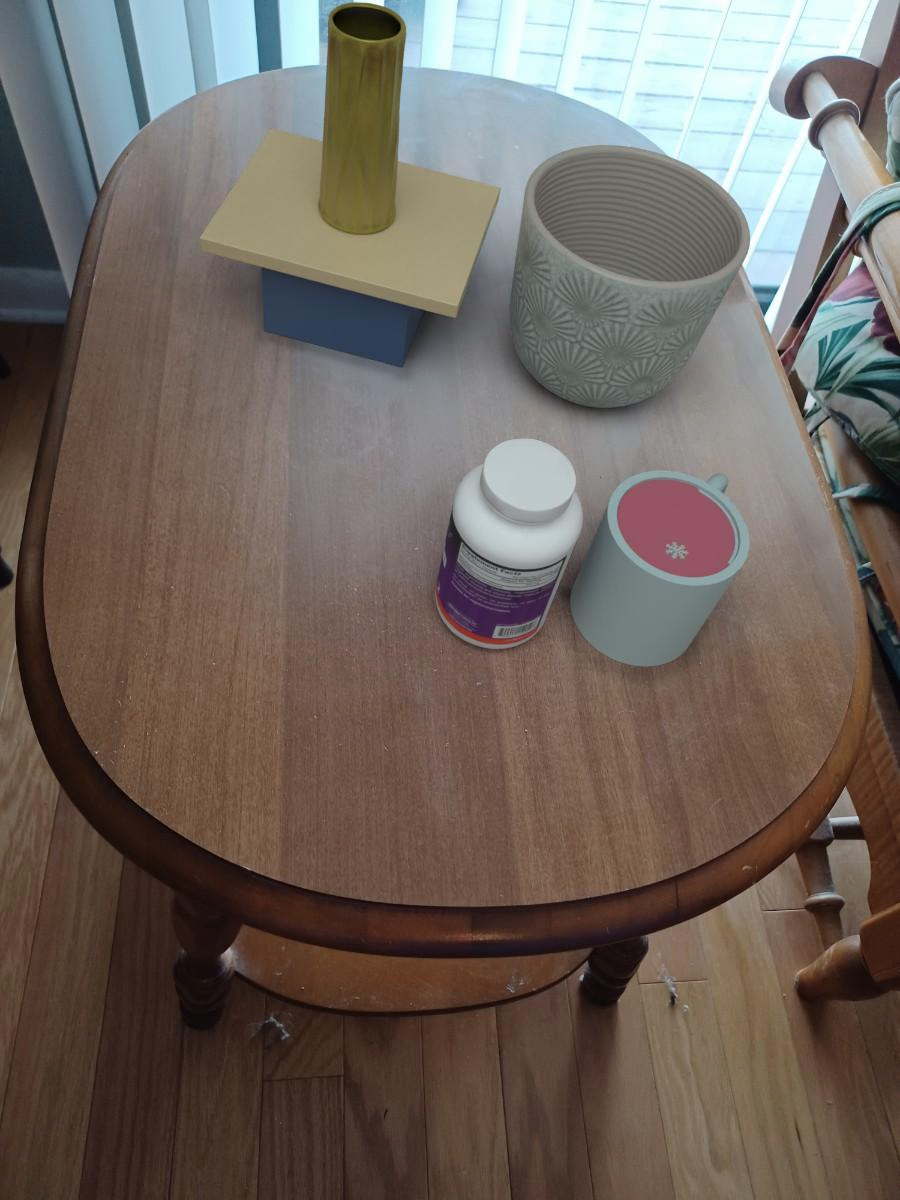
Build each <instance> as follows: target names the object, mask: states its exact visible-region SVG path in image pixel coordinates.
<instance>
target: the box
mask: <svg viewBox="0 0 900 1200" xmlns="http://www.w3.org/2000/svg"><path fill="white" fill-rule="evenodd" d="M322 148H323V140H318V139H315V138H312V137H308V136H304V135H300V134H297V133H296V134H295V133H292V132H288V131H284V130H280V129H277V128H273V127H272V128H270V129H269V130H268V131H267V133H266V135H265V137H264V138H263V140H262V141H261V143H260V144H259V146H258V147H257V149H256V150H255V152H254V154H253V155H252V156H251V158H250V160H248V163H247V164H246V166H245V167H244V169H243V171H241V174H240V175H239V176H238V178H237V180H236V181H235V183H234V184H233V186H232V187H231V189H230V190H229V192H228V193H227V195H226V196H225V198H224V200H223V201H222V203H221V204H220V206H219V207H218V208H217V210H216V212H215V213H214V215H213V216H212V218H211V220H209V223H207V226H206V227H205V229H204V230H203V232H202V233H201V235H200V236H199V247H200V252H203V253H206V254H211V255H215V256H219V257H222V258H226V259H230V260H233V261H237V262H241V263H246V264H247V265H248V264H249V265H252V266H256V267H261V288H262V291H261V292H262V314H263V315H262V316H263V331H264V332H267V333H271V334H275V335H279V336H282V337H286V338H289V339H293V340H297V341H301V342H305V343H308V344H313V345H316V346H319V347H324V348H328V349H332V350H335V351H339V352H343V353H346V354H350V355H354V356H358V357H361V358H365V359H368V360H369V359H370V360H373V361H376V362H380V363H384V364H388V365H392V366H395V367H399V368H403V366H404V364H405V361H406V358H407V356H408V353H409V352H410V348H411V346H412V343H413V341H414V338H415V335H416V333H417V331H418V328H419V325H420V323H421V320H422V318H423V315H424V313H425V311H426V312H430V313H435V314H437V315H442V316H446V317H449V318H453V319H456V318H457V317H458V315H459V311H460V309H461V305H462V303H463V300H464V297H465V294H466V291H467V289H468V286H469V283H470V281H471V278H472V275H473V273H474V270H475V266H476V264H477V262H478V258H479V256H480V253H481V250H482V248H483V245H484V241H485V239H486V236H487V233H488V231H489V228H490V225H491V222H492V219H493V216H494V214H495V211H496V209H497V205H498V203H499V200H500V194H501V187H499V186H495V185H491V184H487V183H484V182H480V181H476V180H473V179H468V178H466V177H465V178H464V177H461V176H457V175H453V174H450V173H446V172H442V171H437V170H433V169H430V168H426V167H422V166H418V165H415V164H411V163H407V162H404V161H399V160H398V167H397V184H396V196H395V206H396V217H395V219H394V221H393V222H392V223H391V225H389V226H388V227H387V228H385V229H384V230H381V231H379V232H375V233H370V234H354V233H348V232H345V231H342V230H339V229H337V228H334V227H333V226H331V225H330V224H329V223H327V222H326V221H325V220H324V219H323V217H322V216H321V214H320V211H319V208H318V202H319V196H320V182H321V168H322Z"/></svg>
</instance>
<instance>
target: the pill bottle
mask: <svg viewBox="0 0 900 1200" xmlns="http://www.w3.org/2000/svg"><path fill="white" fill-rule="evenodd" d="M576 487H577V475H576V471H575V468H574V466H573V464H572V463H571V461H570V460H569V458H568V457H567V456H566V455H565V454H564V453H563V452H562V451H561V450H559V449H558V448H557V447H554V445H552V444H549V443H547V442H545V441H543V440H542V441H541V440H538V439H534V438H526V437H525V438H513V439H508V440H505V441H503V442H501V443H499V444H497V445H496V446H494V447H493V448H492V449H491V450H490V451H489V452H488V453H487V454H486V457H485V459H484V461H483V463H480V464H478V465H477V466H475V467H473V468H472V469H471V470H470V471H469V472H468V473H467V474H466V475H465V476H464V477H463V479H462V480H461V481H460V483H459V485H458V486H457V488H456V491H455V494H454V498H453V500H452V501H453V502H452V506H451V510H450V516H449V521H448V526H447V530H446V534H445V535H446V536H445V540H444V545H443V550H442V553H441V554H442V555H441V561H440V564H439V569H438V574H437V578H436V584H435V593H434V599H435V604H436V609H437V612H438V613H439V617H440V618H441V619H442V622H443V623H444V625H446V626H447V628H448V629H449V630H450V631H451V632H452V633H453V634H454V635H455V636H456V637H458V638H459V639H461V640H463V641H465V642H466V643H469V644H471V645H473V646H475V647H476V646H477V647H479V648H482V649H483V648H484V649H489V650H504V649H505V650H506V649H510V648H514V647H517V646H520V645H522V644H524V643H526V642H528V641H529V640H531V639H532V638H533V637H534V636H536V635H537V633H539V631H540V630H541V629H542V627H543V626H544V624H545V622H546V620H547V618H548V616H549V614H550V611H551V608H552V605H553V602H554V601H555V597H556V595H557V592H558V590H559V587H560V585H561V582H562V580H563V577H564V574H565V572H566V570H567V567H568V565H569V563H570V559H571V557H572V555H573V553H574V550H575V547H576V545H577V543H578V541H579V538H580V535H581V532H582V529H583V523H584V522H583V521H584V514H583V513H584V512H583V507H582V504H581V503H582V502H581V500H580V498H579V495H578V493H577V492H576Z"/></svg>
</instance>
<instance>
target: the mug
mask: <svg viewBox="0 0 900 1200" xmlns="http://www.w3.org/2000/svg"><path fill="white" fill-rule="evenodd" d="M728 486H729V478H728V476H727V475H726V474H724V473H721V472H719V473H714V474H712V475H711V476H710V477H709V478H708V480H707V481H705V480H703V479H701V478H699V477H696V476H694V475H690V474H688V473H684V472H680V471H674V470H665V469H663V470H662V469H658V470H648V471H643V472H640V473H636V474H634V475H632V476H629V477H627V478H626V479H625V480H623V481H622V482H621V483H620V484H618V486H617V487H616V488H615V489H614V491H613V492H612V493H611V496H610V498H609V501H608V503H607V505H606V508H605V510H604V512H603V514H602V517H601V520H600V523H599V525H598V527H597V528H596V532H595V534H594V536H593V538H592V541H591V543H590V545H589V548H588V551H587V553H586V555H585V558H584V560H583V562H582V564H581V567H580V569H579V572H578V574H577V576H576V578H575V581H574V583H573V586H572V588H571V591H570V598H569V599H570V600H569V604H570V605H569V606H570V612H571V616H572V619H573V622H574V624H575V626H576V628H577V630H578V631H579V632H580V634H581V635H582V637H583V638H584V639H585V640H586V642H588V643H589V644H590V645H591V647H593V648H594V649H596V650H597V651H598V652H599V653H600V654H603V656H605V657H607V658H610V659H611V660H614V661H615V662H618V663H621V664H624V665H629V666H634V667H645V668H646V667H658V666H663V665H665V664H668V663H671V662H673V661H674V660H676V659H678V658H679V657H680V656H682V655H683V654H684V653H686V651H687V650H688V648H689V647H690V645H691V644H692V643H693V641H694V639H695V638H696V636H697V635H698V633H699V632H700V630H701V629H702V627H703V625H705V623H706V621H707V619H708V618H709V617H710V615H711V614H712V612H713V611H714V609H715V607H716V606H717V605H718V603H719V602H720V600H721V599H722V597H723V595H725V592H726V591H727V589H728V588H729V586H730V585H731V584H732V582H733V581H734V579H735V577H736V576H737V575H738V573H739V571H740V570H741V568H742V567H743V565H744V563H745V562H746V560H747V558H748V555H749V552H750V543H751V541H750V533H749V528H748V526H747V523H746V520H745V518H744V516H743V515H742V513H741V511H740V510H739V508H738V507H737V506H736V504H735V503H734V502H733V501H732V500H731V499H730V498H729V497H728V496H727V495H726V494H725V492H726V490H727V488H728Z"/></svg>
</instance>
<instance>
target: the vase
mask: <svg viewBox="0 0 900 1200" xmlns="http://www.w3.org/2000/svg"><path fill="white" fill-rule="evenodd" d="M406 42H407V25H406V22H405V20H404V18H403V17H402V16H401V15H400V14H398V12H396V11H394V10H392V9H391V8H388V7H386V6H385V5H384V6H383V5H380V4H377V3H376V4H375V3H371V2H358V1H356V2H354V1H353V2H346V3H342V4H340V5H337V6H336V7H334V8H332V10H331V11H330V12H329V14H328V20H327V49H326V50H327V52H326V69H325V70H326V71H325V90H324V91H325V92H324V115H323V131H322V141H323V148H322V168H321V182H320V196H319V202H318V208H319V211H320V214H321V216H322V217H323V219H324V220H325V221H326V222H327V223H329V224H330V225H331V226H333V227H334V228H337V229H339V230H342V231H345V232H348V233H354V234H370V233H375V232H379V231H381V230H384V229H385V228H387V227H388V226H389V225H391V223H392V222H393V221H394V219H395V217H396V206H395V196H396V184H397V167H398V161H399V145H400V109H401V93H402V84H403V83H402V82H403V73H404V72H403V71H404V59H405V48H406Z"/></svg>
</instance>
